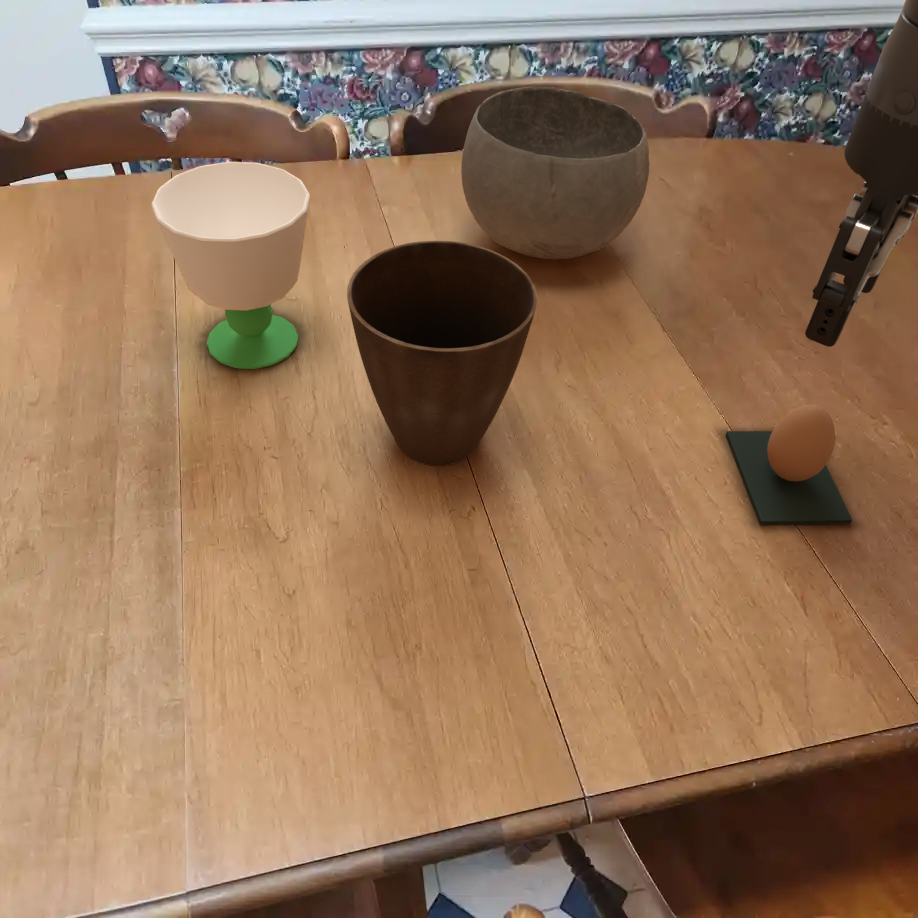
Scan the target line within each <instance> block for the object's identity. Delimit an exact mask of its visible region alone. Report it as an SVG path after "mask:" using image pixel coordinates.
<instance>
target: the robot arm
mask: <svg viewBox="0 0 918 918" xmlns="http://www.w3.org/2000/svg"><path fill="white" fill-rule="evenodd" d="M844 160H845V161H846V164H847V165H848V167H849V168H850V170H852V172H854V173H855V174H856V175H858V176H860V178H862V180H864V183H863V184H862V186H861V189H860V190H859V194H858V193H854V194H853V196H852V198H851V199H850V202H849V204H848V205H847V207H846V209H845V212H844V216H845V217H844V219H842V220H841V222H840V223H839V226H838V229H839V230H838V232H837V235H836V238H835V240H834V242H833V244H832V246H831V248H830V250H829V254H828V257H827V258H826V259H827V260H826V262H825V264H824V267H823V269H822V272H821V275H820V277H819V279H818V282H817V283H816V285H815V286H814V288H813V289H812V293H813V294H812V297H811V298H812V299H813V300H816V304H815V307H814V309H813V312H812V315H811V317H810V320H809V322H808V324H807V327H806V329H805V332H804V334H805V335H804V336H805V337H806V338H807V339H808V340H810V341H813V342H815V343H817V344H820V345H822V346H825V347H828V348H831V347H834V346H835V345H836V343H837V342H838V340H839V339H840V337H841V334H842V332H843V330H844V327H845V325H846V323H847V321H848V318H849V316H850V314H851V311H852V309H853V307H854V306H855V305H856V304H858V302H859V301H860V299H861V296H860V294H861V293H863V294H868V293H870V292H872V290H873V289H874V287H875V286H876V283H877V281H878V280H879V277H880V275H881V272H882V271H883V268H884V267H885V263H886V262H887V259H888V257H889V255H890V253H891V252H892V250H893V249H894V248H895V247H896V245H899V243H900V240H901V239H902V238H905V236H906V234H907V232H908V230H909V229H910V228H911V224H912V223H913V221H914V220H915V218H916V217H917V215H918V0H905V1H904V3H903V7H902V9H901V11H900V13H899V16H898V18H897V20H896V22H895V24H894V26H893V29H892V30H891V32H890V34H889V35H888V38H887V39H886V42H885V43H884V45H883V47H882V50H881V52H880V54H879V58H878V60H877V63H876V65H875V68H874V71H873V73H872V76H871V78H870V82H869V84H868V87H867V89H866V92H865V95H864V97H863V99H862V103H861V105H860V108H859V110H858V113H857V116H856V118H855V121H854V124H853V127H852V129H851V132H850V134H849V138H848V141H847V142H846V145H845V148H844ZM838 274H839V275H841V276H844V277H843V279H842V281H843V283H842V282H839V281H837V280H835V279H836V277H837V275H838Z"/></svg>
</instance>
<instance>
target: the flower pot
mask: <svg viewBox="0 0 918 918" xmlns="http://www.w3.org/2000/svg"><path fill="white" fill-rule="evenodd" d="M523 269H524V268H522V267H521V266H519V265H518V264H517V263H516V262H514V261H513V260H511V259H510V258H508V257H506V256H505V255H503V254H501V253H498V252H496V251H494V250H492V249H488V248H485V247H483V246H479V245H475V244H471V243H465V242H461V241H452V240H451V241H450V240H423V241H414V242H407V243H403V244H399V245H395V246H392V247H389V248H387V249H384V250H382V251H379V252H377V253H375V254H374V255H371V256H370V257H369V258H368V259H366V260H364V261H363V262H362V263H361V264H360V265H359V266H357V268H356V269H355V270H354V271H353V273H352V274H351V277H350V279H349V281H348V284H347V288H346V299H347V305H348V309H349V314H350V318H351V322H352V327H353V332H354V336H355V340H356V344H357V347H358V352H359V355H360V358H361V362H362V365H363V369H364V372H365V375H366V379H367V380H368V383H369V386H370V388H371V391H372V394H373V396H374V399H375V401H376V404H377V406H378V408H379V411H380V414H381V416H382V418H383V419H384V422H385V424H386V425H387V428H388V430H389V431H390V433H391V435H392V437H393V439H394V441H395V443H396V445H397V446H398V448H399V449H400V451H401V452H402V453H403V454H404V455H405V456H406V457H408V458H409V459H411V460H413V461H415V462H417V463H420V464H423V465H427V466H431V467H433V466H435V467H442V466H443V467H444V466H450V465H453V464H457V463H459V462H462V461H464V460H465V459H466V458H468V457H469V456H471V454H473V452H474V451H475V449H476V448H477V447H478V445H479V443H480V442H481V440H482V439H483V437H484V436H485V434H486V433H487V431H488V429H489V428H490V426H491V424H492V422H493V421H494V418H495V416H496V415H497V413H498V411H499V409H500V407H501V405H502V403H503V401H504V399H505V397H506V394H507V393H508V390H509V388H510V386H511V383H512V381H513V378H514V376H515V374H516V371H517V368H518V366H519V364H520V361H521V357H522V355H523V352H524V349H525V346H526V343H527V339H528V336H529V333H530V329H531V326H532V323H533V319H534V316H535V312H536V309H537V306H538V305H537V304H538V294H537V290H536V287H535V284H534V281H532V278H531V277H530V276H529V275H528V273H527V272H526V271H525V270H523Z"/></svg>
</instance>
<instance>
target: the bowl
mask: <svg viewBox="0 0 918 918" xmlns="http://www.w3.org/2000/svg"><path fill="white" fill-rule="evenodd" d="M648 141H649V140H648V137H647V133H646V131H645V128H644V126H643V125H642V123H641V122H640V121H639V119H638V118H636V117H635V116H634V114H633V113H632V112H631V111H629V110H628V109H626V108H625V107H622V106H620V105H619V104H616V103H614V102H611V101H607V100H604V99H601V98H597V97H594V96H592V95H589V94H586V93H585V92H580V91H576V90H571V89H568V90H566V89H564V88H558V87H555V86H554V87H553V86H537V85H534V86H524V87H516V88H511V89H507V90H502V91H498V92H496V93H494V94H492V95H490V96H489V97H486V98H485V99H484V101H482V102H481V103H480V104H479V106H477V108H476V109H475V112H474V114H473V117H472V118H471V122H470V124H469V126H468V129H467V133H466V136H465V140H464V144H463V149H462V156H461V166H460V167H461V168H460V169H461V172H460V173H461V185H462V186H461V187H462V190H463V194H464V198H465V201H466V204H467V207H468V209H469V211H470V214H471V215H472V216H473V219H474V220H475V221H476V223H477V224H478V226H479V227H480V228H481V230H483V231H484V233H485V234H486V235H487V236H488V237H489V238H490V239H491V240H492V241H494V242H495V243H496V244H498V245H500V246H502V247H503V248H506V249H508V250H510V251H513V252H515V253H517V254H520V255H523V256H526V257H530V258H536V259H541V260H542V259H543V260H544V259H545V260H567V259H575V258H580V257H582V256H586V255H589V254H592V253H594V252H597V251H599V250H601V249H603V248H605V247H606V246H608V245H609V244H610V243H612V242H613V241H615V239H616V238H618V237H619V236H620V235H621V234H622V233H623V232H624V230H625V229H626V228H627V227H628V226H629V225H630V223H631V222H632V220H633V219H634V218H635V216H636V214H637V212H638V211H639V208H640V207H641V204H642V202H643V200H644V198H645V194H646V189H647V185H648V181H649V175H650V155H649V154H650V148H649V142H648Z"/></svg>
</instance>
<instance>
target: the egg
mask: <svg viewBox="0 0 918 918" xmlns="http://www.w3.org/2000/svg"><path fill="white" fill-rule="evenodd" d="M772 431H773V432H772V433H771V436H770V439H769V442H768V448H767V451H768V459H769V463H770V465H771V468H772V469H773V470H774V471H775V473H776V474H777V475H778V476H779V477H781V478H783V479H785V480H787V481H794V482H795V481H803V480H806V479H809V478H811V477H813V476H815V475H816V474H818V473H819V472H820V471H821V470H822V469H823V468H824V467H825V465H826V466H827V464H828V462H830V459H831V457H832V454H833V451H834V448H835V444H836V428H835V424H834V420H833V418H832V416H831V414H830V413H829V412H828V411H827V410H826V409H825V407H822V406H820V405H817V404H811V403H808V404H803V405H798V406H797V407H795V408H793V409H791V410H790V411H788V412H787V413H786V414H785V415H784V416H782V417H781V418H780V419H779V421H778V422H777V423H776V424H775V426H774V428H773V429H772Z"/></svg>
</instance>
